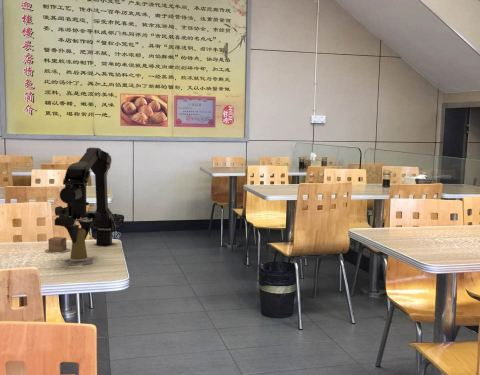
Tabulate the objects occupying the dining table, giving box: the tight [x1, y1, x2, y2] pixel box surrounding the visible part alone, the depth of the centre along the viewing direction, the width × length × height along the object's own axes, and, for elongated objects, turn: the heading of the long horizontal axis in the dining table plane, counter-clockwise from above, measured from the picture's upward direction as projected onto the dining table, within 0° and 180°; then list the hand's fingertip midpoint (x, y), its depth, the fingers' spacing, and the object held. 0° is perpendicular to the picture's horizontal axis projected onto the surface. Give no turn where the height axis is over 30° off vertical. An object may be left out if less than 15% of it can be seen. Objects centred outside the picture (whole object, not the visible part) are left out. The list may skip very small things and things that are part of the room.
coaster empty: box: [64, 257, 94, 267], centre depth 197 cm, size 10×10×1 cm
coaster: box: [43, 247, 72, 255], centre depth 213 cm, size 10×10×1 cm
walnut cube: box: [47, 236, 67, 252], centre depth 213 cm, size 5×5×5 cm
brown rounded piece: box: [69, 227, 88, 260], centre depth 197 cm, size 6×6×11 cm
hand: (78, 241), depth 197 cm, fingers closed on brown rounded piece, 5 cm apart
